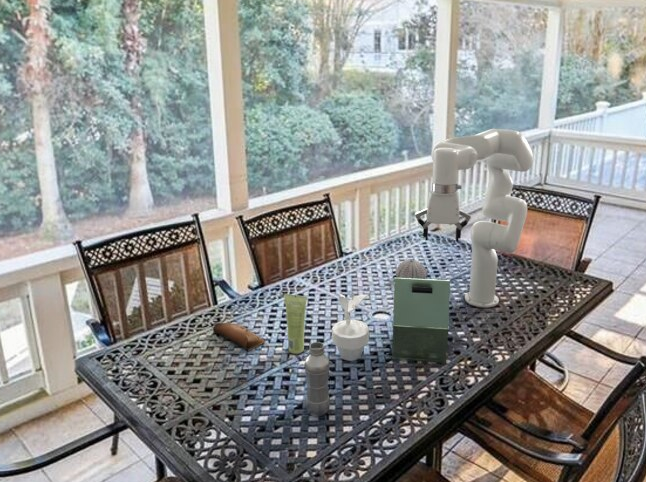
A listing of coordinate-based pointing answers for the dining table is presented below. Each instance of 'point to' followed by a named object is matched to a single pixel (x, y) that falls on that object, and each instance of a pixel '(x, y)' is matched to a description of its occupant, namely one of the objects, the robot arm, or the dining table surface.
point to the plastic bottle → (317, 380)
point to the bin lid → (421, 302)
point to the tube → (295, 322)
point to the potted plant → (350, 330)
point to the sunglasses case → (238, 335)
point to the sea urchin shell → (411, 270)
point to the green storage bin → (420, 344)
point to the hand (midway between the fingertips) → (441, 239)
